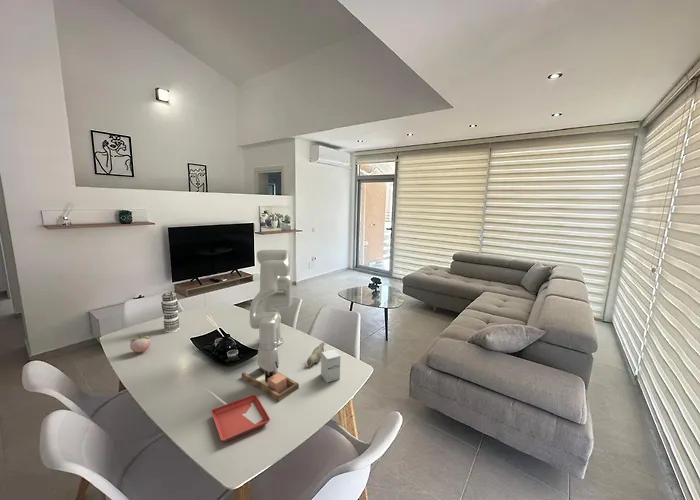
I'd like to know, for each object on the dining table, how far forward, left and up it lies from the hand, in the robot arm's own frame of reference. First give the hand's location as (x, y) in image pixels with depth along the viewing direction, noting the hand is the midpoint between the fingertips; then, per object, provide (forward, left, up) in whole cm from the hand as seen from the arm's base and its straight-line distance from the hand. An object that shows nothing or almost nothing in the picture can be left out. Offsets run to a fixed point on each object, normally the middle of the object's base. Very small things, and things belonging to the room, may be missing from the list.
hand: (269, 380), depth 140 cm
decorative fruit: (-77, -26, -2) cm, 81 cm away
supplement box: (+19, +22, -2) cm, 29 cm away
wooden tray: (0, 0, -2) cm, 2 cm away
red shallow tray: (+10, -22, -2) cm, 24 cm away
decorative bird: (+4, +29, -2) cm, 29 cm away
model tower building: (-94, -3, -2) cm, 94 cm away
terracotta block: (+6, 0, -1) cm, 6 cm away
